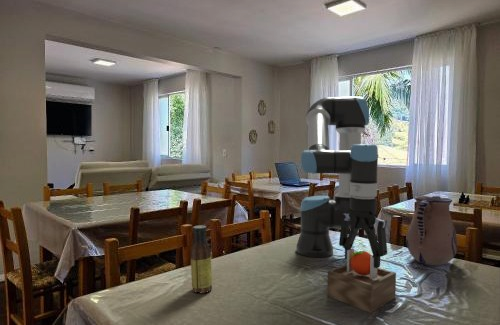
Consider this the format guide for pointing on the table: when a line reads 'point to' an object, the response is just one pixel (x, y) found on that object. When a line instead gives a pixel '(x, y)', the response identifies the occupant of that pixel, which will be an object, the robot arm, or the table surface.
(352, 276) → the walnut tray
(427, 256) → the ceramic pitcher
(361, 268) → the clementine
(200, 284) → the sauce bottle
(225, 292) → the table surface
